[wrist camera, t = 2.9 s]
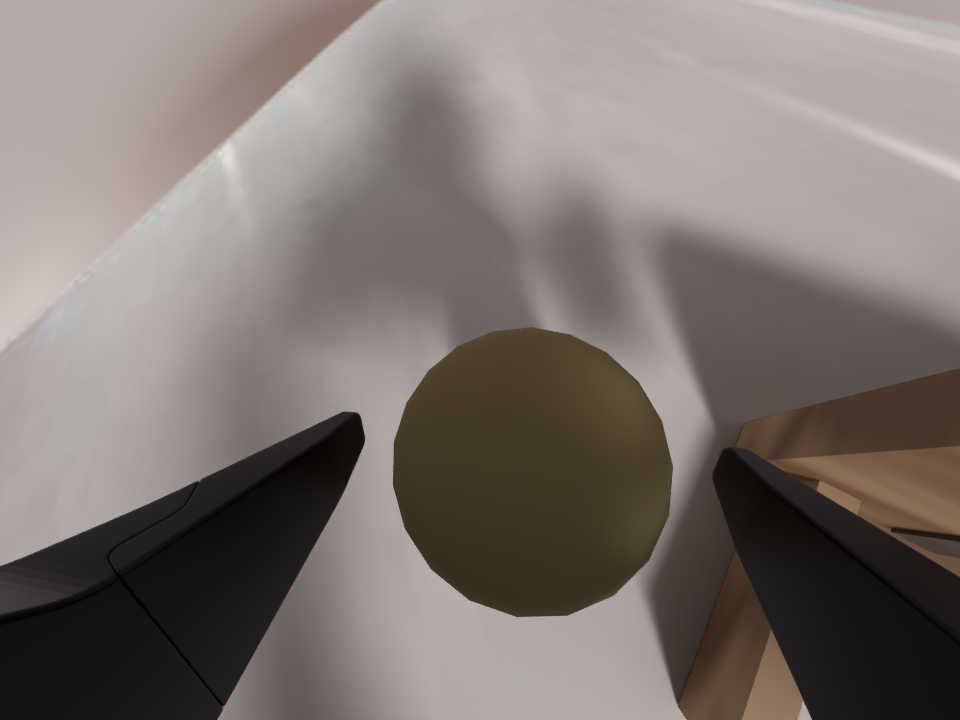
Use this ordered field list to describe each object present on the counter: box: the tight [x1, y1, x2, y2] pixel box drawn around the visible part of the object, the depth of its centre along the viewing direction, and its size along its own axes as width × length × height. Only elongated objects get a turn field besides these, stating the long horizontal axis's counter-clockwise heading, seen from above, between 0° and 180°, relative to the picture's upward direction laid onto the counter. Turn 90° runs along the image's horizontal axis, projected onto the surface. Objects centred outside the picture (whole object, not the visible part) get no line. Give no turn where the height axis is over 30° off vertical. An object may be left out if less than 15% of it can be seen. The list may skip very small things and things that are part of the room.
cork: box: [393, 328, 673, 617], centre depth 10 cm, size 6×6×11 cm
